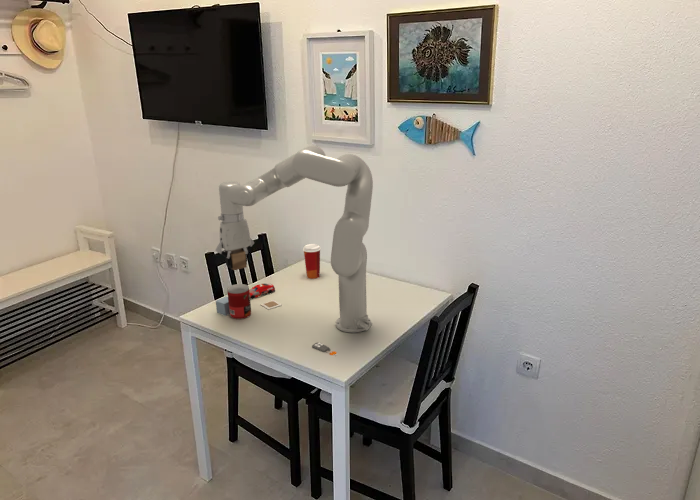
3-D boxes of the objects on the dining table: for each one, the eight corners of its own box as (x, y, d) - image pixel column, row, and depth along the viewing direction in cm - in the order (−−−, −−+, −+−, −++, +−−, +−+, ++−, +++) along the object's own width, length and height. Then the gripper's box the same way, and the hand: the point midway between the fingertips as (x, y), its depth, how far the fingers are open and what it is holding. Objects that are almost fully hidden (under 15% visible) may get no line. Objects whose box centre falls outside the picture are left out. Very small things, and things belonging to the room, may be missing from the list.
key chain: (310, 349, 176) (310, 345, 176) (318, 344, 179) (318, 340, 178) (340, 362, 168) (339, 357, 168) (347, 357, 171) (347, 353, 170)
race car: (247, 301, 213) (246, 292, 212) (241, 297, 217) (240, 288, 216) (277, 292, 220) (276, 283, 219) (270, 288, 224) (270, 279, 223)
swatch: (281, 305, 208) (281, 304, 208) (268, 309, 204) (268, 308, 204) (274, 300, 212) (274, 299, 212) (260, 304, 209) (260, 303, 209)
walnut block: (246, 267, 194) (245, 251, 192) (234, 270, 191) (232, 254, 189) (240, 263, 198) (238, 248, 196) (227, 266, 195) (226, 251, 193)
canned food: (249, 319, 197) (246, 291, 194) (227, 319, 197) (224, 292, 194) (253, 310, 205) (250, 283, 201) (232, 310, 205) (229, 283, 201)
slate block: (235, 311, 204) (234, 299, 203) (225, 316, 201) (224, 303, 199) (227, 308, 207) (225, 296, 206) (216, 312, 203) (215, 300, 202)
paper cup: (315, 272, 241) (313, 242, 236) (325, 276, 235) (324, 246, 230) (300, 276, 236) (299, 246, 231) (311, 281, 230) (309, 250, 226)
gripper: (214, 224, 181) (219, 274, 187) (259, 215, 190) (262, 263, 196) (205, 219, 186) (210, 268, 192) (249, 210, 196) (253, 257, 202)
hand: (237, 265), depth 194 cm, fingers closed on walnut block, 5 cm apart
